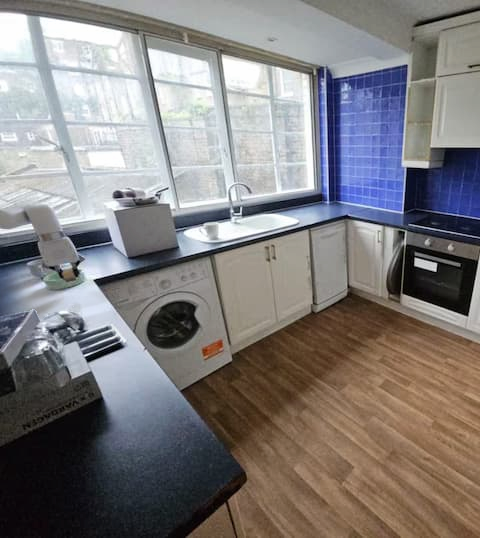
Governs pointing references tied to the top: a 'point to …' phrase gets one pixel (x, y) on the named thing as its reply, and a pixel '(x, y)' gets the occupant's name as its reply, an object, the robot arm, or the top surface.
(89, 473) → the top surface
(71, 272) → the eraser
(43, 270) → the teacup
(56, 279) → the bowl
